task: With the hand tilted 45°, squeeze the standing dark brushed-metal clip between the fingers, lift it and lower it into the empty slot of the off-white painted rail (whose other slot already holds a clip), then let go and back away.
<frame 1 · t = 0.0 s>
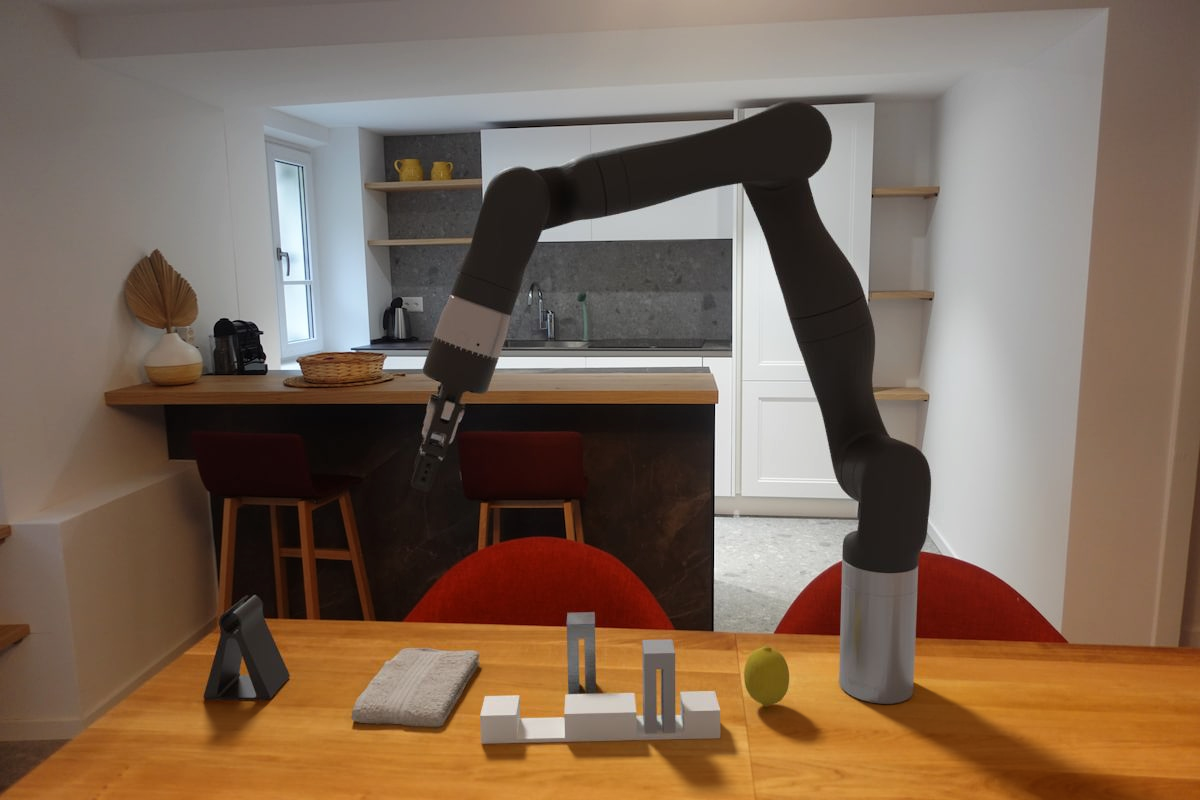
hand: (420, 479, 91), 31 cm above the table, tool tilted 20°, fingers open, 8 cm apart
lemon: (766, 707, 102), on the table
clip: (582, 690, 107), on the table
rail: (600, 730, 97), on the table
phone stand: (248, 690, 109), on the table
washcloth: (421, 695, 108), on the table
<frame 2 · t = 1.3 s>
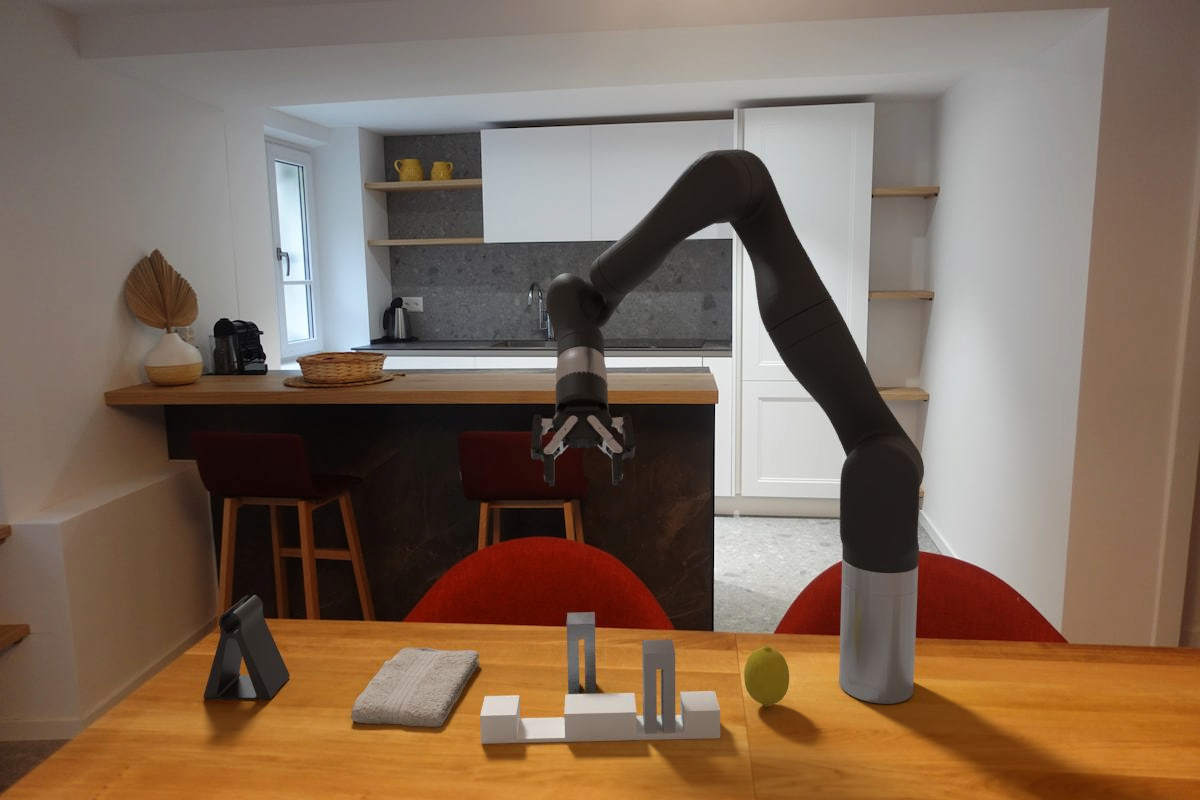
hand: (583, 482, 108), 27 cm above the table, tool tilted 45°, fingers open, 8 cm apart
nothing on the table moved.
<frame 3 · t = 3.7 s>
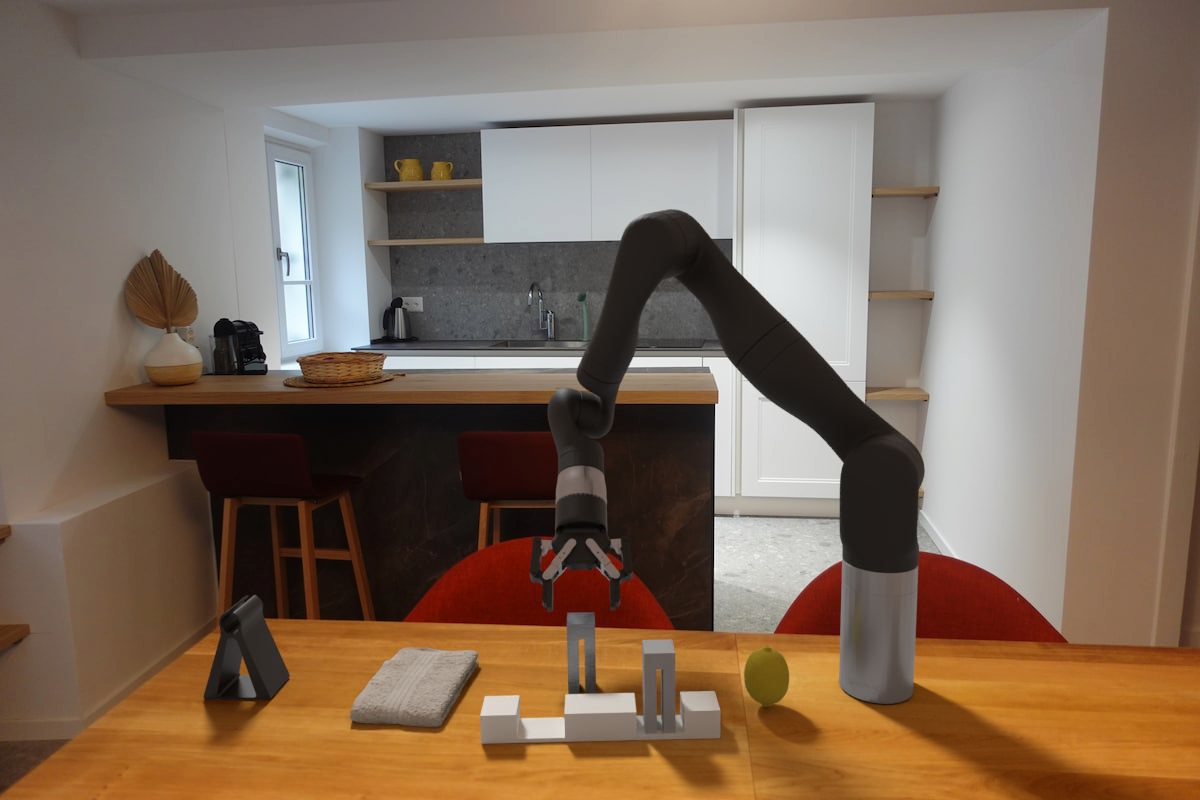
hand: (581, 609, 110), 9 cm above the table, tool tilted 45°, fingers open, 8 cm apart
nothing on the table moved.
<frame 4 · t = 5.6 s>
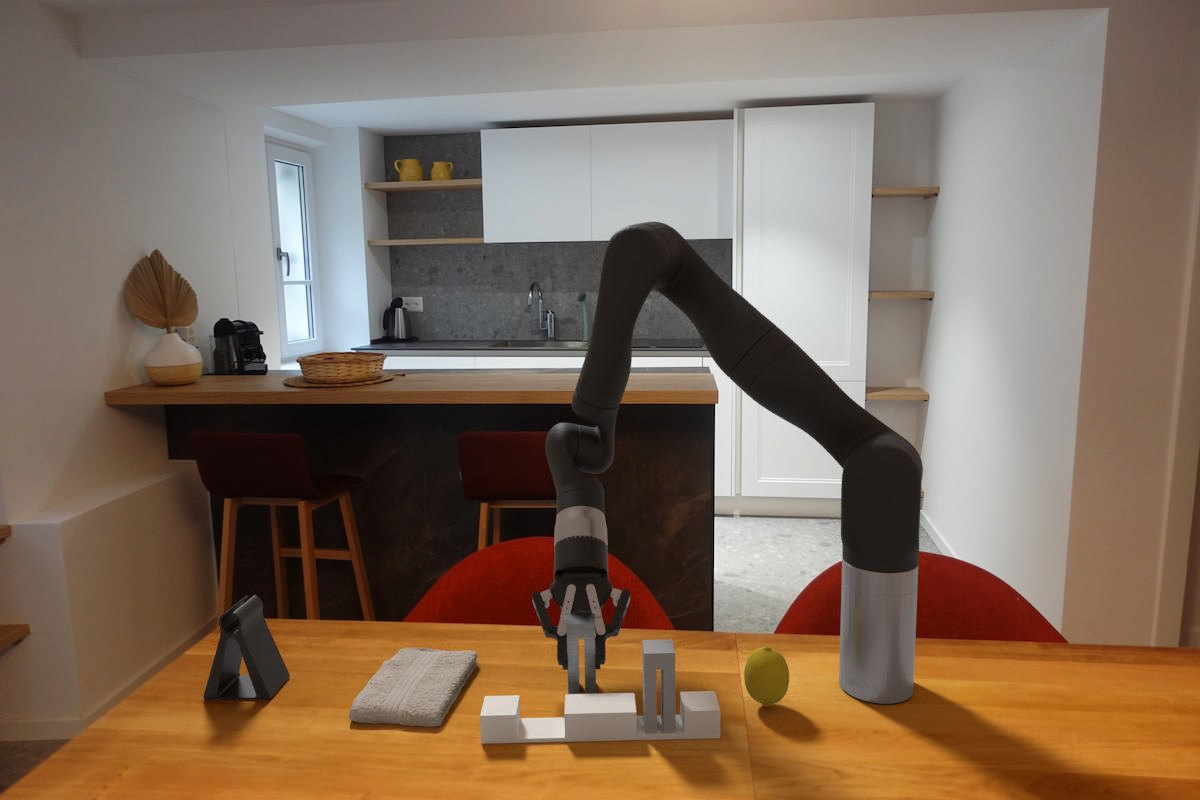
hand: (581, 667, 104), 4 cm above the table, tool tilted 45°, fingers closed on clip, 3 cm apart
clip: (582, 690, 107), on the table, touching gripper
everything else where it was.
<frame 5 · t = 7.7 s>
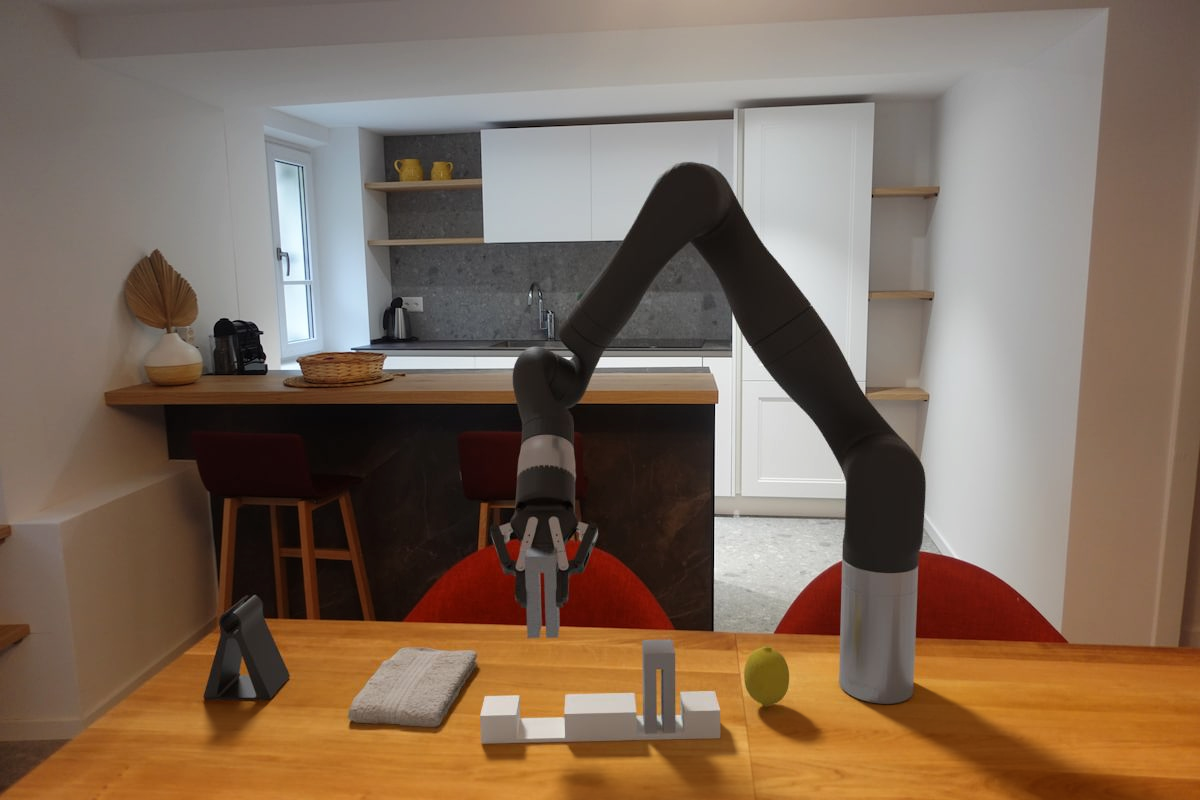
hand: (541, 604, 95), 16 cm above the table, tool tilted 45°, fingers closed on clip, 3 cm apart
clip: (543, 631, 97), point 12 cm above the table, touching gripper
everything else where it was.
when the fingers open (6 cm above the table, at t = 10.1 s): clip stays where it is, resting on rail.
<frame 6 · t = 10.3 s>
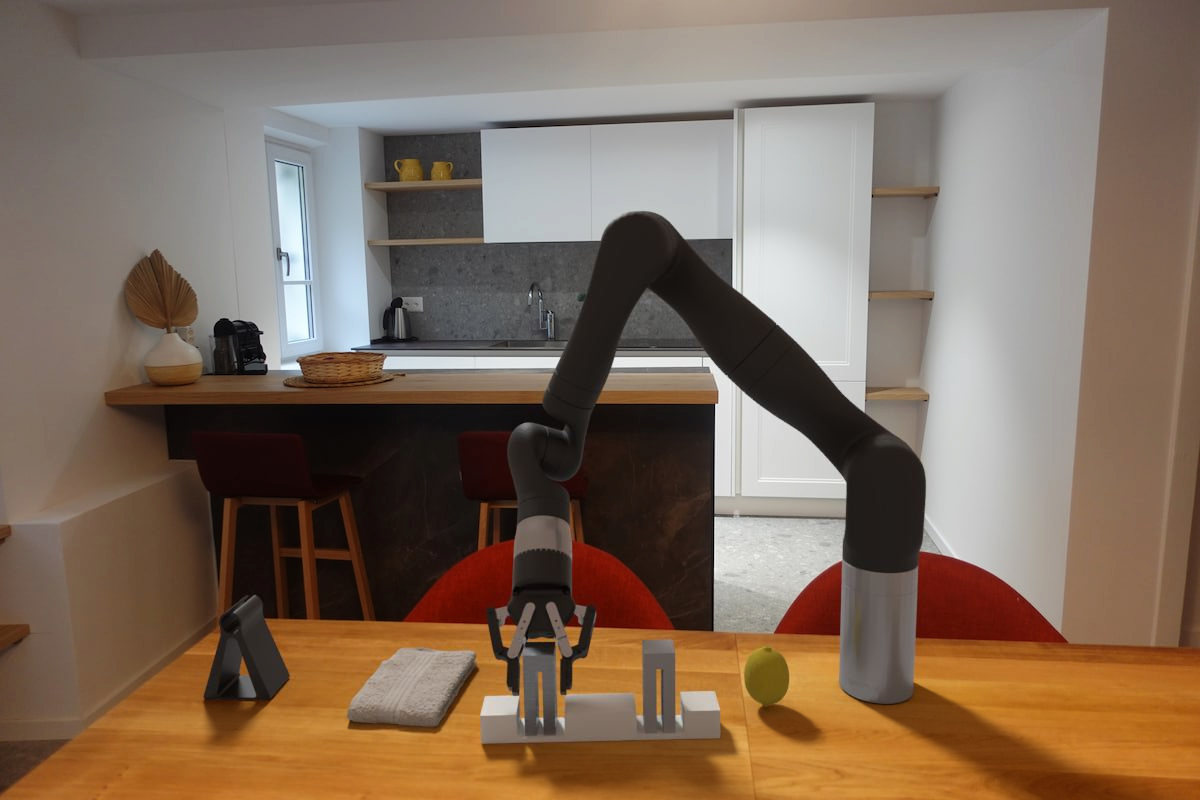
hand: (539, 692, 94), 6 cm above the table, tool tilted 45°, fingers open, 5 cm apart
clip: (541, 727, 97), point 1 cm above the table, touching rail
everything else where it was.
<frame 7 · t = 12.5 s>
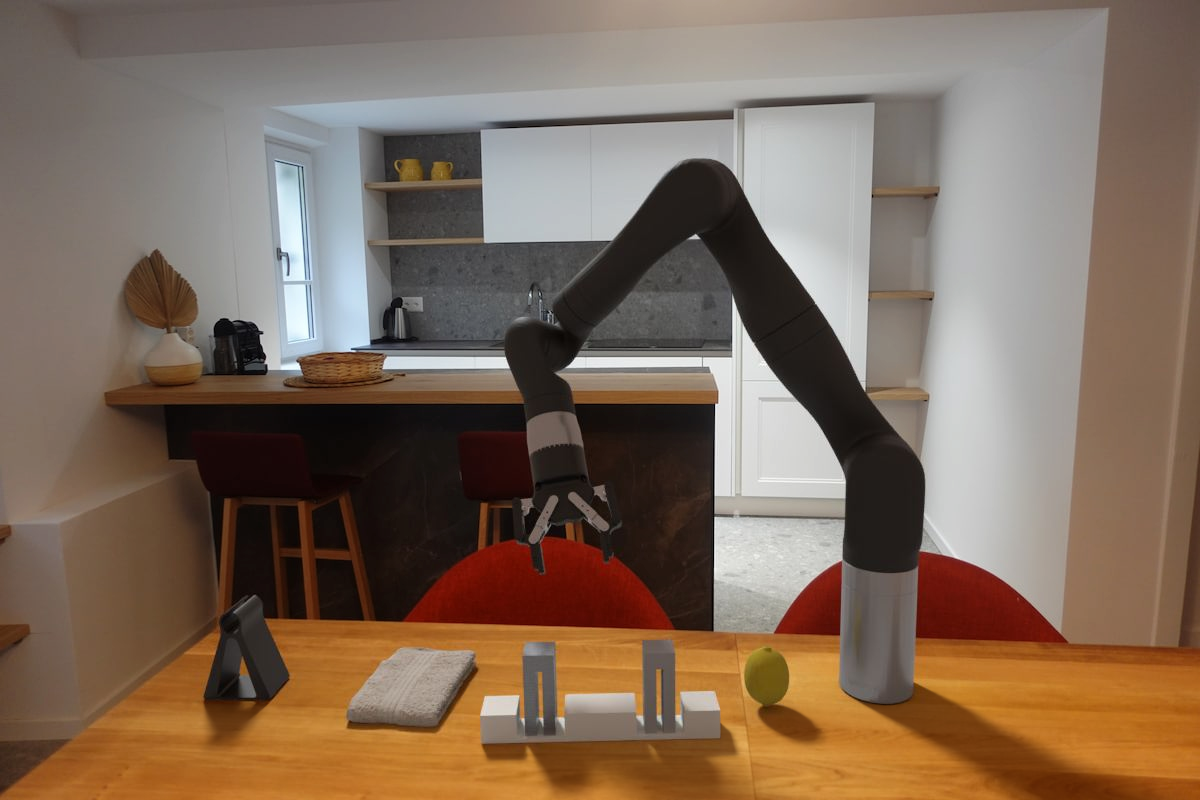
hand: (574, 568, 105), 16 cm above the table, tool tilted 30°, fingers open, 8 cm apart
nothing on the table moved.
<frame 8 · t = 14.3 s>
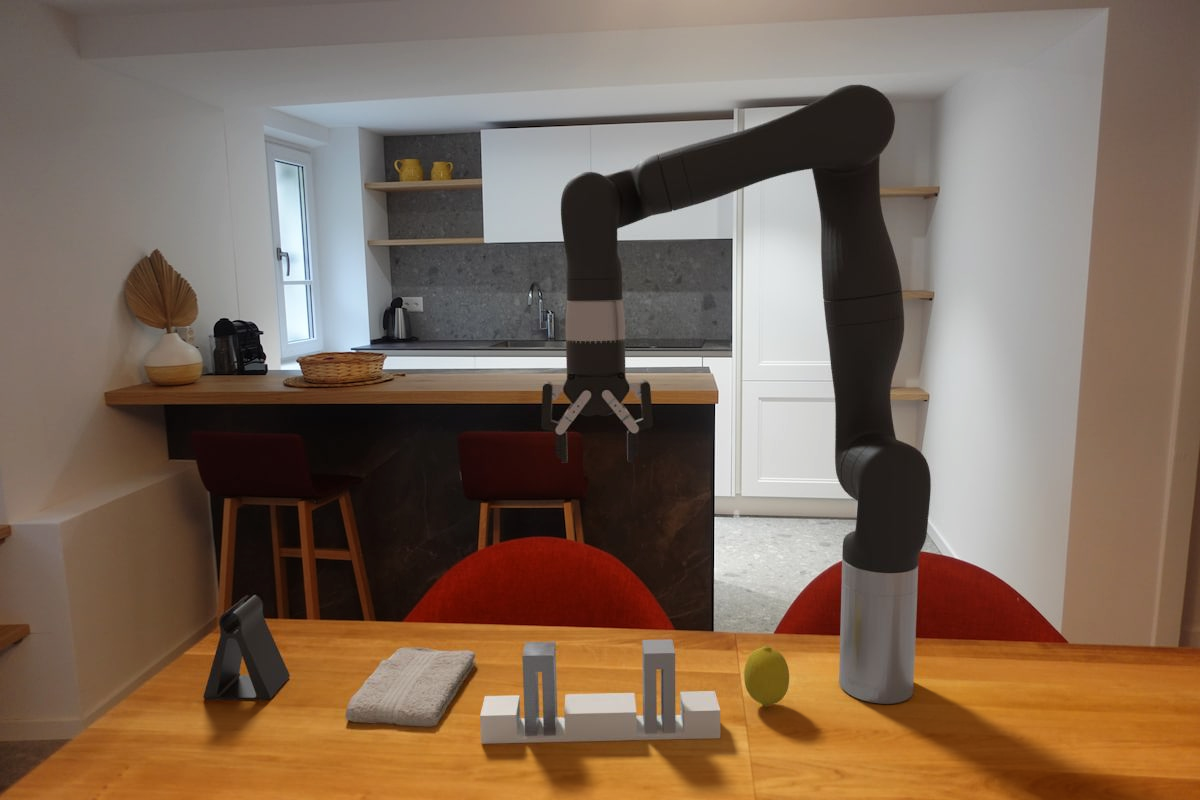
hand: (597, 461, 105), 30 cm above the table, tool pointing down, fingers open, 8 cm apart
nothing on the table moved.
at the end: clip 0.1 cm from the target spot, point 0.5 cm above the table; clip tilted 0°; the gripper is holding nothing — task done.
